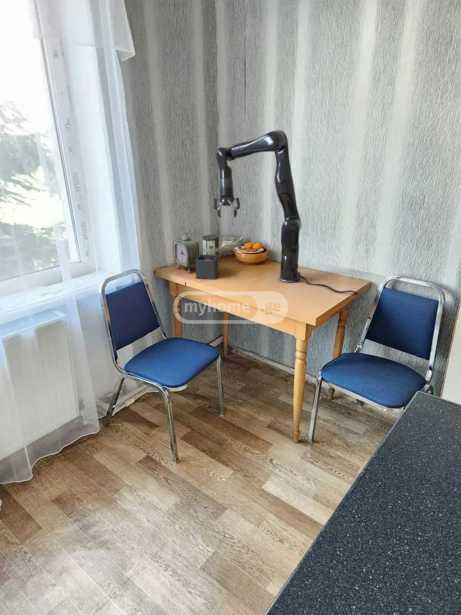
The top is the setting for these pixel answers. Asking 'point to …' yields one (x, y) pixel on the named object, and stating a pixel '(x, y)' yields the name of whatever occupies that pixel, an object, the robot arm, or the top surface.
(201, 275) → the bin
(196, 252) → the tabletop clock
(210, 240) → the lantern
